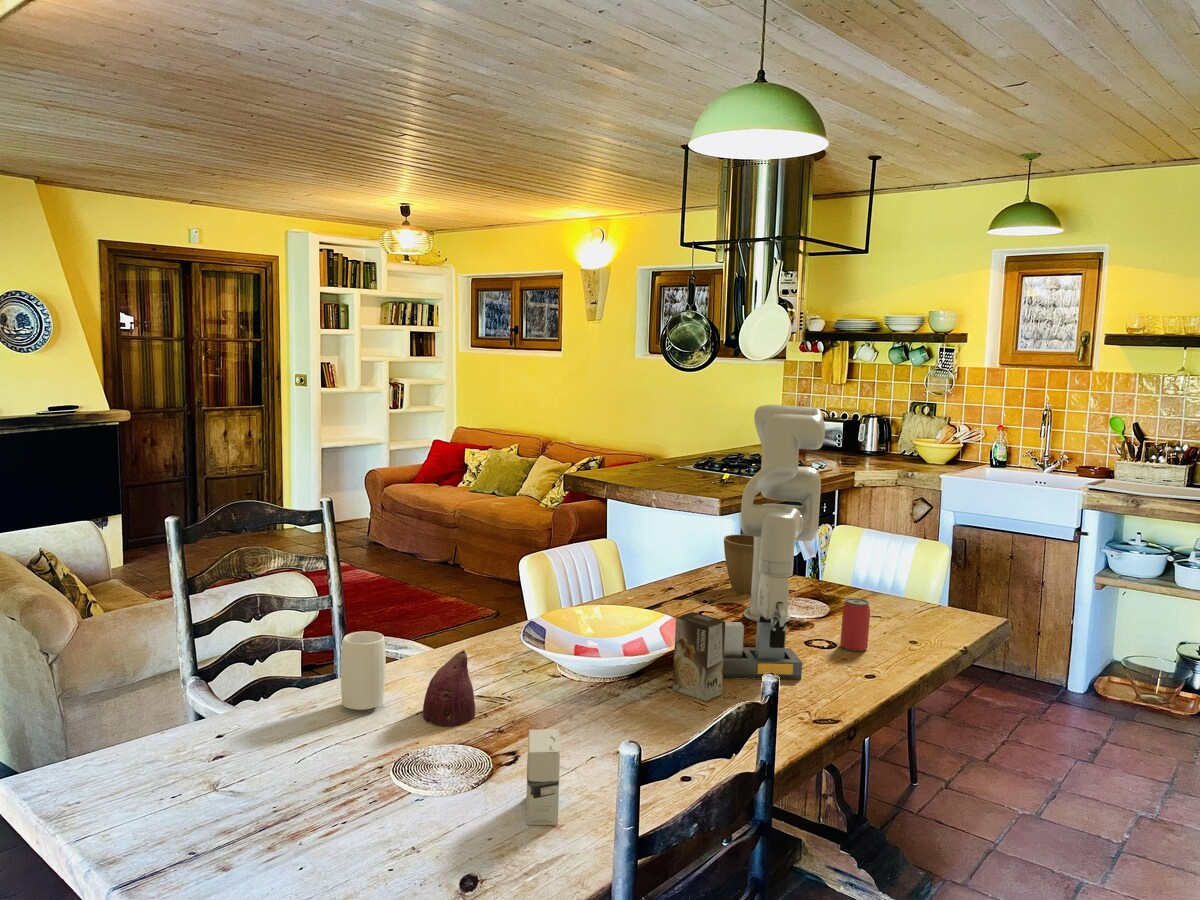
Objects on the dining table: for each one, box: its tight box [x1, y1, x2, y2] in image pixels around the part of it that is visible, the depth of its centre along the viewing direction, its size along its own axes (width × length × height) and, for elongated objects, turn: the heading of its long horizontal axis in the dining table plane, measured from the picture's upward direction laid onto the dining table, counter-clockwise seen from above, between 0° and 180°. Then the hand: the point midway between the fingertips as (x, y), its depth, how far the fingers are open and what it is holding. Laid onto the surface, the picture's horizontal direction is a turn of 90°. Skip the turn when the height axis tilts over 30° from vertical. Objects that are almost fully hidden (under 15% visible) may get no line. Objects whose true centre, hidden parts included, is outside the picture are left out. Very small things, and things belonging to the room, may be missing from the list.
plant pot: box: [723, 534, 754, 594], centre depth 274 cm, size 15×15×16 cm
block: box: [754, 622, 787, 659], centre depth 206 cm, size 3×6×10 cm, turn 93°
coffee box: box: [672, 611, 726, 702], centre depth 191 cm, size 9×6×16 cm
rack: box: [722, 621, 803, 681], centre depth 205 cm, size 10×22×11 cm, turn 94°
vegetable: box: [422, 649, 476, 728], centre depth 174 cm, size 10×10×15 cm
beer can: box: [839, 597, 871, 652], centre depth 225 cm, size 7×7×12 cm
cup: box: [340, 630, 387, 711], centre depth 176 cm, size 8×8×14 cm
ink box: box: [526, 728, 561, 826], centre depth 139 cm, size 8×5×12 cm, turn 5°
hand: (771, 640), depth 205 cm, fingers open, 9 cm apart
